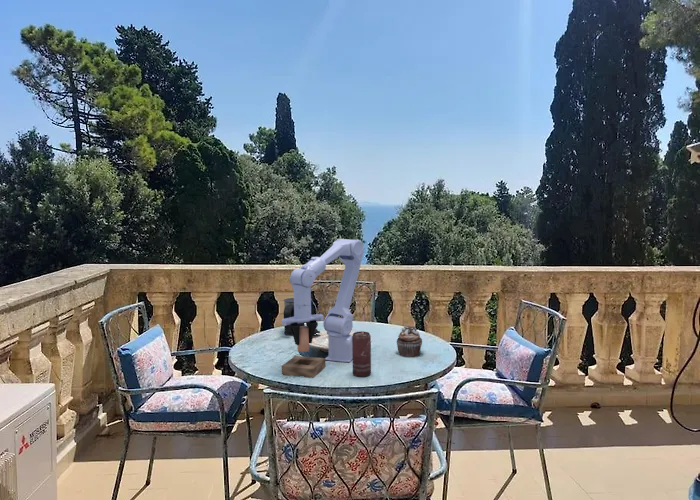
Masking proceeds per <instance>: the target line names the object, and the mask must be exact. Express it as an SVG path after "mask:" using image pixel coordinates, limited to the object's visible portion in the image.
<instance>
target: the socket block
mask: <svg viewBox="0 0 700 500" xmlns="http://www.w3.org/2000/svg"><path fill="white" fill-rule="evenodd" d="M325 358H326V357H325ZM325 358H324V357H313V356H303V355H301V356H300V355H294V356H293V357H292V358H290V359H289V360H288V361H287V362H285V363H283V364H282V365H281V375H282V374H283V375H282V376H290V375H293V376H292V377H300V376H304V377H303V378H310V377H312V378H311V379H314V378H315V377H316V376H318V375H319V373H320V372H321V371H323V370H324V369H325V368H326V360H325Z"/></svg>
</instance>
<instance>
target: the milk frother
mask: <svg viewBox="0 0 700 500" xmlns="http://www.w3.org/2000/svg"><path fill="white" fill-rule="evenodd" d="M283 302H284V309H283V319H285V318H290V317H294V297H290V298H284V299H283ZM297 324H298V326H299V327H300V326H306V324H305V323H297ZM283 327H284V333H283V334H285V335H288V336H293V334H292V332H291V330H290V328H289V326H288V325H286V326H283ZM316 333H318V334H321V331H320V330H318V328H316V330H315V332H314V334H316Z"/></svg>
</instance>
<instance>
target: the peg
mask: <svg viewBox="0 0 700 500" xmlns="http://www.w3.org/2000/svg"><path fill="white" fill-rule="evenodd" d="M296 347H297V352H299V353H307V352H310V343H309V327H308V326H306V325H305V326H300V331H299V345H296Z"/></svg>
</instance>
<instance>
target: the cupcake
mask: <svg viewBox="0 0 700 500" xmlns="http://www.w3.org/2000/svg"><path fill="white" fill-rule="evenodd" d="M419 332H420V331H419V330H417V328H416V327H415V326H408V327H407V326H403V327H401V331H400V333H399V334H398V338H397V339H396V345H397V346H396V347H397V352H398V354H399V356H401V357H406V358H411V357H412V358H415V357H419V356H420V355H421V348H422V344H423V338H422V337H421V335H420V333H419Z"/></svg>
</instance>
